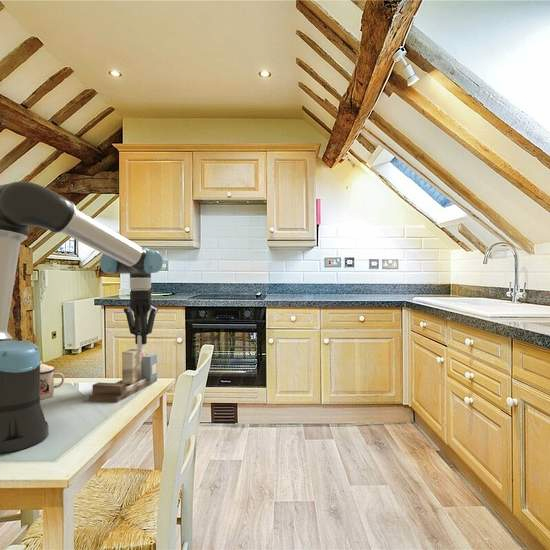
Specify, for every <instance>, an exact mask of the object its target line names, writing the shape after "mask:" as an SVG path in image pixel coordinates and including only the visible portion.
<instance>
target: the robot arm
mask: <svg viewBox="0 0 550 550" xmlns="http://www.w3.org/2000/svg"><path fill="white" fill-rule="evenodd" d="M30 227H36V228H41V229H45V230H47V231H50V232H52V233H54V234H59V233H61V234H64V235H66V236H68V237H70V238H72V239H74V240H76V241H78V242H80V243H82V244H83V245H86V246H87V247H90V248H92V249H93V250H95V251H97V252H99V253H101V256H100V259H99V266H100V270H101V271H102V272H103V273H105V274H108V275H109V274H110V275H118V274H119V275H120V274H121V275H123V274H124V275H126V274H127V275H128V274H129V289H130V291H129V300H130V303H129V305H128V306H127V307H126V308H123V312H124V314H125V316H126V320H127V324H128V328H129V333H130V334H131V335H134V339H135V340H134V343H135V345H136V349H141V354H142V353H145V354H146V351H145V348H146V346H145V345H147V343H148V342H147V338H148V337H147V336H148V335H149V334H152V332H153V327H154V324H155V318H156V314H157V313H158V311H159V308H158V307H154V306H153V303H152V290H151V289H152V274H155V273H158V272H160V271H161V270H162V268H163V265H164V259H163V255H162V253H161V252H159V251H158V250H152V249H149V248H147V247H142V246H140V245H138V244H137V243H135V242H133V241H131V240H130V239H128V238H127V237H125V236H123V235H121V234H120V233H118V232H116V231H115V230H113V229H111V228H109V227H107V226H106V225H104V224H102V223H101V222H99V221H98V220H95V219H94V218H93V217H91V216H89V215H87V214H86V213H84V212H82V211H80V210H78V208H77V207H76V205H75V203H74V202H73V201H71V200H69V199H68V198H66V197H64V196H63V195H60V194H59V193H57V192H55V191H53V190H51V189H49V188H47V187H46V186H43V185H40V184H37V183H34V182H31V181H27V180H26V181H25V180H24V181H22V180H21V181H20V180H19V181H13V182H11V183H10V182H9V183H6V184H0V454H5V453H11V452H16V451H19V450H23V449H26V448H30V447H33V446H35V445H37V444H39V443H41V442H42V441H45V440H46V438H47V437H49V423H48V421H47V420H46V419H45V414H44V411H43V409H42V406H41V400H40V362H41V361H42V359H41V354H40V348H39V346H38V345H37V344H35V343H34V342H32V341H27V340H16V339H14V340H13V336H12V335H11V334H10V333H9V332H8V325H9V319H10V314H11V313H10V312H11V306H12V305H11V304H12V299H13V291H14V285H15V279H16V273H17V266H18V261H19V253H20V247H21V244H22V243H23V242H24V241H26V240H28V238H29V232H30ZM148 313H149V314H148Z"/></svg>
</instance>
